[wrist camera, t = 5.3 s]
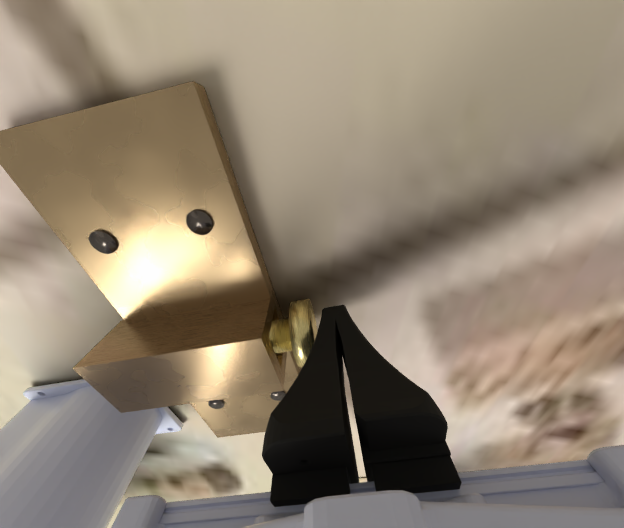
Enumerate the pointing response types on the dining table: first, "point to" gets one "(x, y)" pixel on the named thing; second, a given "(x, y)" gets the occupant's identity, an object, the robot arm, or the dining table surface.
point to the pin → (295, 331)
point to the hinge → (160, 254)
